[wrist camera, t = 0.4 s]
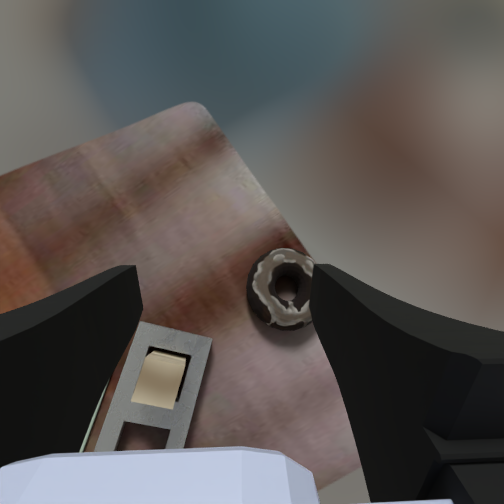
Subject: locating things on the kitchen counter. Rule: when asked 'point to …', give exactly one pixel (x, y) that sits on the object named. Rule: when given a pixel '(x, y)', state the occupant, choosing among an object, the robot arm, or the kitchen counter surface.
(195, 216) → the kitchen counter surface
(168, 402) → the peg
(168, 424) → the rail
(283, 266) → the donut
